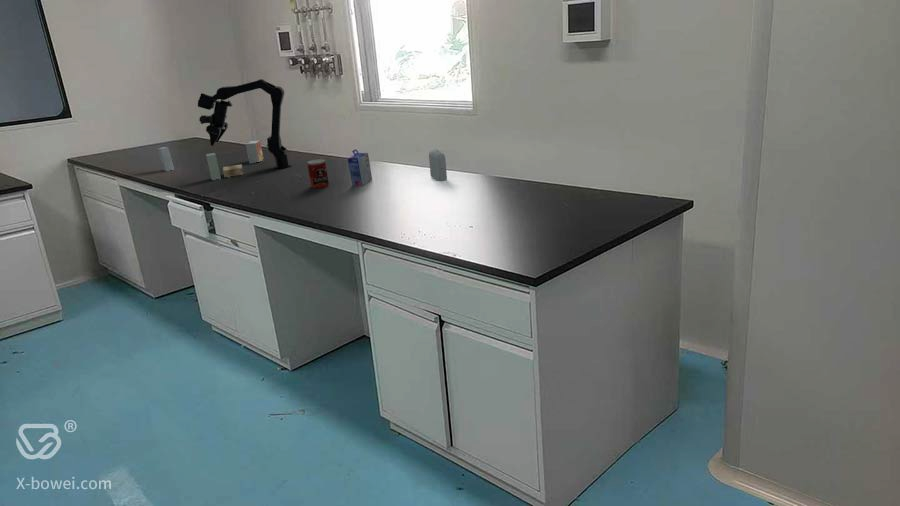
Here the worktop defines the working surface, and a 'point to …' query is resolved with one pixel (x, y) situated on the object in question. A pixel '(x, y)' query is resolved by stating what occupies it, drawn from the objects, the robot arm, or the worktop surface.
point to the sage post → (213, 166)
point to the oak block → (233, 170)
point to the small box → (254, 151)
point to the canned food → (318, 173)
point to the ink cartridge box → (359, 168)
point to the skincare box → (165, 158)
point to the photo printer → (437, 165)
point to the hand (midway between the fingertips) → (214, 143)
